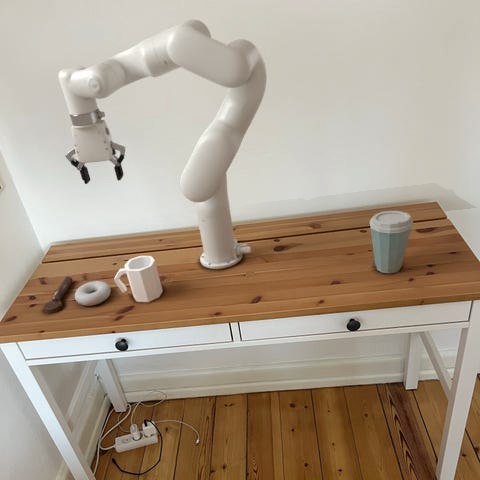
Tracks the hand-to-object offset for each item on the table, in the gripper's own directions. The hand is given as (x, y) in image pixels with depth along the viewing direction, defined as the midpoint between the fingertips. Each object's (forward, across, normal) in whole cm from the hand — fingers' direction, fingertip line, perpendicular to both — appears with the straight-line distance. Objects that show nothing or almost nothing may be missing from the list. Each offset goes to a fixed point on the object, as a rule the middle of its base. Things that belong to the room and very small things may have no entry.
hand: (104, 180), depth 151 cm
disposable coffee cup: (+26, -77, +15) cm, 83 cm away
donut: (+26, +4, +20) cm, 34 cm away
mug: (+26, -9, +20) cm, 35 cm away
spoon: (+26, +15, +19) cm, 36 cm away
